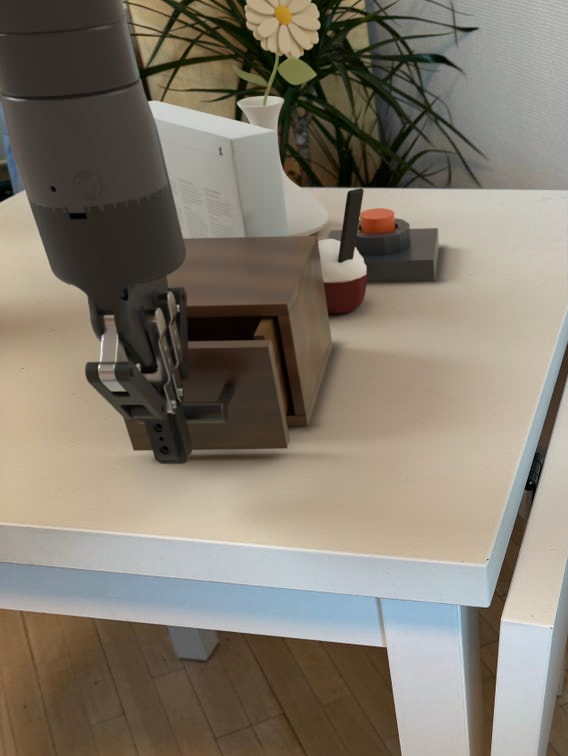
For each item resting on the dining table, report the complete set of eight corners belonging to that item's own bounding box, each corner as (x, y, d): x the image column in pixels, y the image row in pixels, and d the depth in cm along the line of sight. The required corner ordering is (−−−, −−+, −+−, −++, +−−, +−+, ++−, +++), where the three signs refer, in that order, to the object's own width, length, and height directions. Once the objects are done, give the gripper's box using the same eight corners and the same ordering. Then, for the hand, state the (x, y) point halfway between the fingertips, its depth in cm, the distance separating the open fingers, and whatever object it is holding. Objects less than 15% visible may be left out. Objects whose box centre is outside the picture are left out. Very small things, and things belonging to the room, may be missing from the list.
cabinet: (307, 426, 72) (287, 303, 65) (148, 428, 72) (112, 307, 66) (332, 346, 83) (317, 235, 76) (194, 349, 83) (167, 238, 77)
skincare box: (305, 307, 90) (278, 128, 79) (260, 324, 87) (225, 140, 76) (191, 258, 101) (154, 96, 90) (148, 272, 98) (104, 105, 88)
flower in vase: (234, 255, 101) (180, -18, 85) (231, 224, 110) (181, -31, 93) (350, 244, 103) (319, -26, 87) (338, 214, 112) (308, -38, 95)
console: (320, 283, 94) (314, 244, 92) (333, 250, 102) (328, 213, 99) (434, 281, 94) (432, 241, 92) (439, 248, 102) (437, 210, 99)
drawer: (277, 479, 64) (256, 375, 59) (115, 481, 64) (80, 378, 59) (314, 367, 77) (300, 274, 72) (180, 370, 78) (156, 277, 72)
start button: (359, 237, 94) (357, 219, 93) (363, 225, 97) (361, 208, 96) (394, 236, 94) (392, 218, 93) (396, 225, 97) (395, 207, 96)
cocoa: (301, 296, 92) (281, 168, 84) (361, 288, 93) (347, 160, 85) (316, 333, 85) (296, 196, 77) (381, 323, 86) (368, 188, 78)
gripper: (72, 149, 54) (149, 412, 66) (-23, 219, 45) (87, 514, 56) (195, 147, 54) (251, 411, 66) (128, 217, 44) (207, 513, 56)
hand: (175, 458), depth 61 cm, fingers closed
